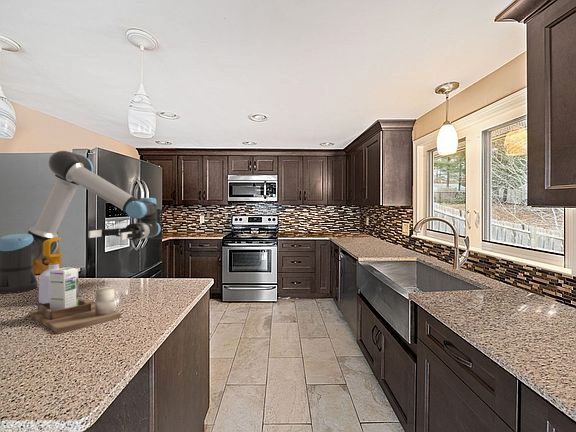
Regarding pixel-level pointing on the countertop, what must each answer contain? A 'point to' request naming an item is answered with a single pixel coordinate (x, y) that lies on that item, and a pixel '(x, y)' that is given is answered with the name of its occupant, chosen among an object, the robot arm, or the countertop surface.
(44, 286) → the soap bottle
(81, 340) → the countertop surface
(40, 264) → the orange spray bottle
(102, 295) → the caddy
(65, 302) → the syrup box
